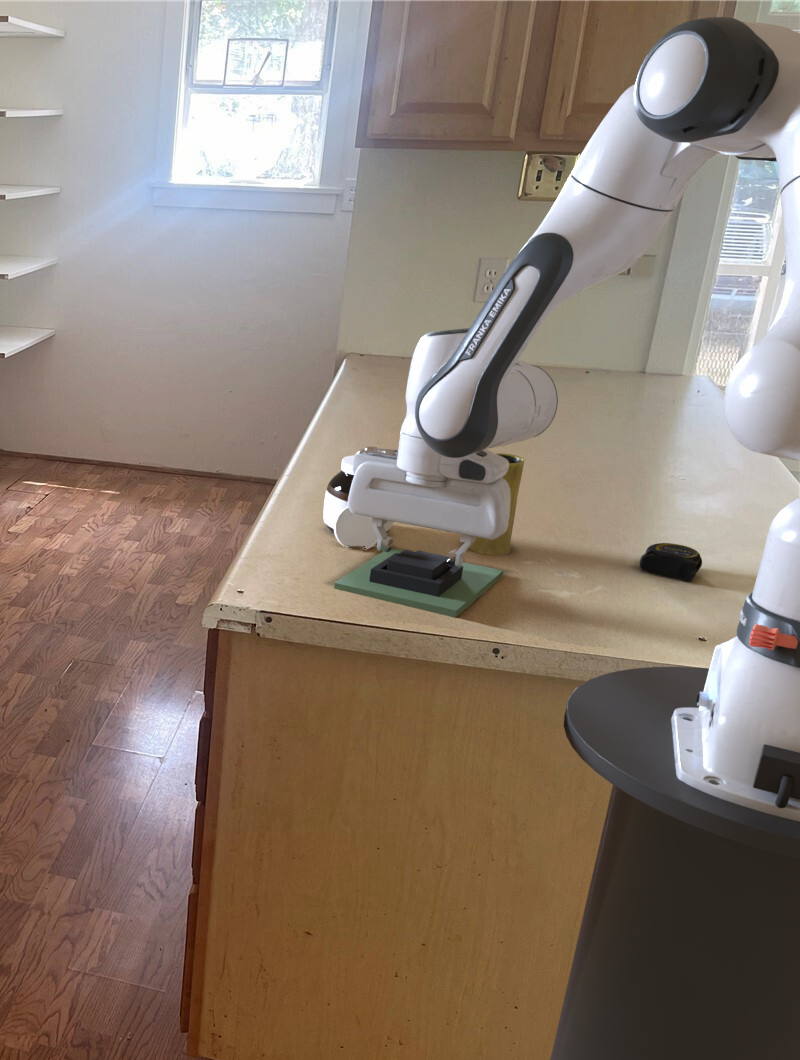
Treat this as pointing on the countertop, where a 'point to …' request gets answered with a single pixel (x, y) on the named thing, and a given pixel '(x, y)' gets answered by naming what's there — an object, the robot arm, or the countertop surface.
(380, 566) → the socket mat
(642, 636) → the countertop surface
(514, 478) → the vase
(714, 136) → the robot arm
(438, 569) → the plug
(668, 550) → the tape measure
